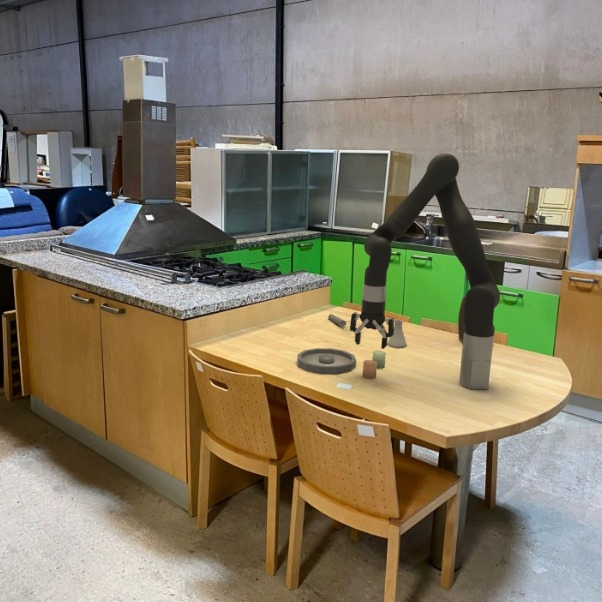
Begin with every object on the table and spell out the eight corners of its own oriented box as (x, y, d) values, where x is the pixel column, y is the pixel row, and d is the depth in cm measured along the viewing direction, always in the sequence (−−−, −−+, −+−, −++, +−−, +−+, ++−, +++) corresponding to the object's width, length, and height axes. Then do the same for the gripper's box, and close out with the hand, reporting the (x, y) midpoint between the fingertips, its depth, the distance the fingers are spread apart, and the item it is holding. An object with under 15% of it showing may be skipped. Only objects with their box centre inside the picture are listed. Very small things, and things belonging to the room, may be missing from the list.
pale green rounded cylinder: (385, 368, 210) (386, 354, 208) (373, 368, 209) (374, 354, 208) (383, 364, 214) (384, 350, 213) (370, 364, 213) (371, 350, 212)
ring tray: (359, 374, 203) (359, 367, 203) (299, 373, 202) (299, 366, 201) (350, 355, 223) (350, 348, 222) (295, 354, 221) (296, 348, 220)
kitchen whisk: (334, 318, 274) (335, 304, 272) (366, 340, 243) (367, 325, 241) (322, 318, 272) (322, 305, 270) (352, 341, 241) (353, 326, 239)
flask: (383, 344, 236) (385, 319, 234) (396, 341, 241) (398, 317, 238) (397, 349, 231) (398, 324, 228) (410, 346, 235) (412, 321, 233)
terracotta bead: (377, 378, 199) (378, 364, 198) (363, 378, 199) (364, 364, 198) (374, 374, 204) (375, 360, 203) (361, 374, 203) (362, 359, 202)
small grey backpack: (454, 337, 249) (459, 289, 244) (474, 337, 250) (479, 289, 245) (468, 348, 234) (473, 298, 229) (489, 348, 235) (494, 298, 230)
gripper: (398, 298, 196) (394, 346, 200) (356, 293, 202) (353, 339, 206) (392, 303, 190) (388, 353, 194) (349, 297, 195) (346, 345, 199)
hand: (370, 346), depth 200 cm, fingers open, 8 cm apart
